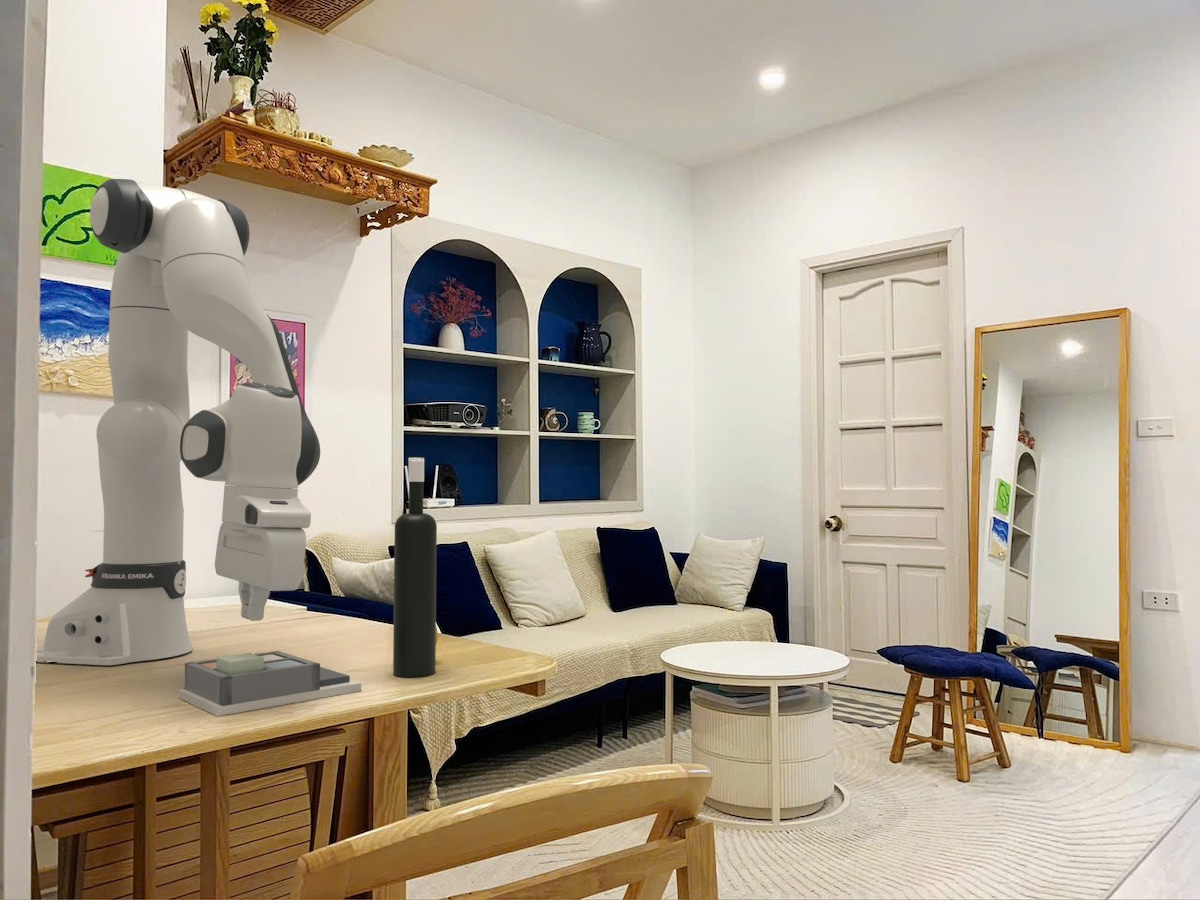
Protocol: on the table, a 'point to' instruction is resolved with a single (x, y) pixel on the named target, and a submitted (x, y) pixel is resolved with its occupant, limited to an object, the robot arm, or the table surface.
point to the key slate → (281, 664)
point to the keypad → (261, 685)
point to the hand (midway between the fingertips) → (251, 619)
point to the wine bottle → (415, 584)
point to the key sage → (240, 664)
